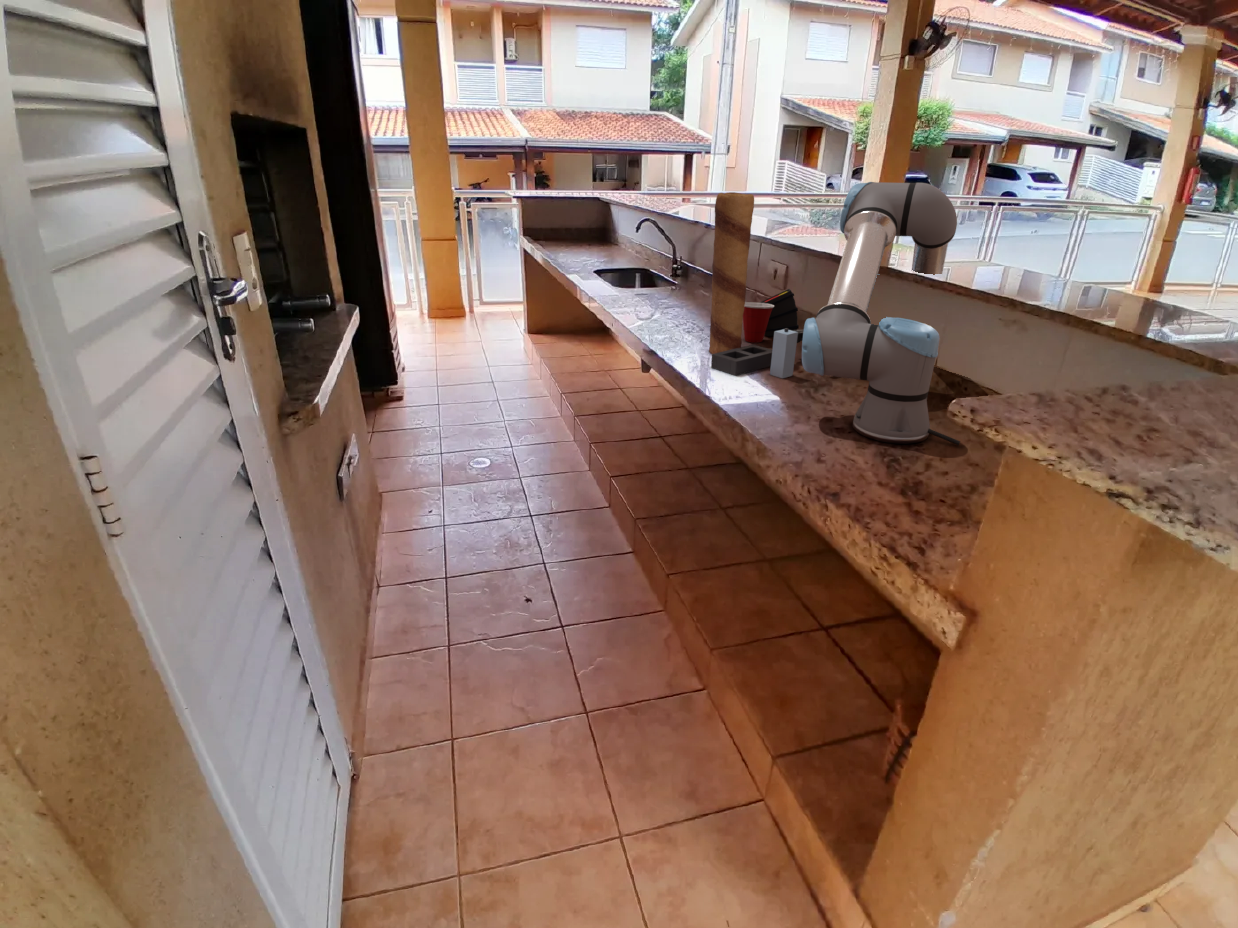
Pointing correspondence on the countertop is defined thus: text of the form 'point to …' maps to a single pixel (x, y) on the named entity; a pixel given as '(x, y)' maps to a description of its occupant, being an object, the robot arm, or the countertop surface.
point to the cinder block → (742, 359)
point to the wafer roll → (730, 269)
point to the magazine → (782, 313)
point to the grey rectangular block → (783, 353)
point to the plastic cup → (755, 320)
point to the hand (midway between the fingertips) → (804, 345)
